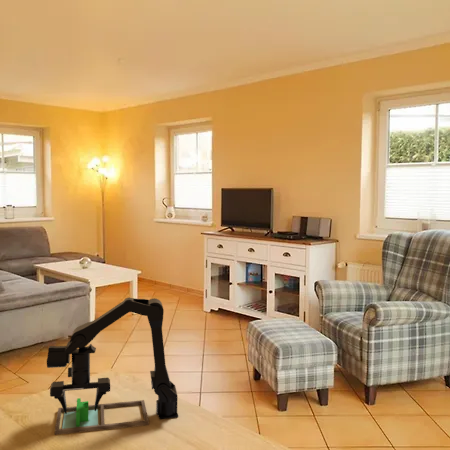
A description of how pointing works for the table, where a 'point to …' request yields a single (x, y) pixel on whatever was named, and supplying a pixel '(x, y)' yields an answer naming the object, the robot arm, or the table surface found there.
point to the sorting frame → (96, 418)
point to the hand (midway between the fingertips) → (80, 411)
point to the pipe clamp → (81, 412)
